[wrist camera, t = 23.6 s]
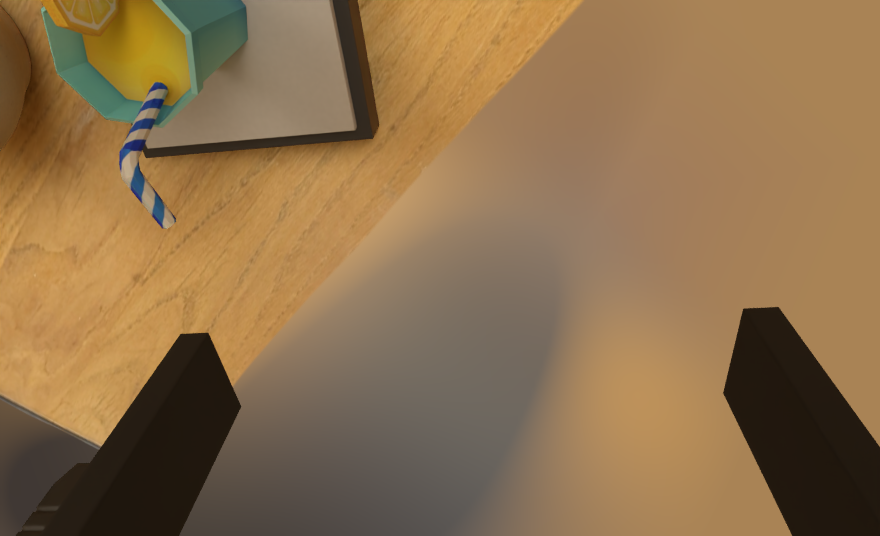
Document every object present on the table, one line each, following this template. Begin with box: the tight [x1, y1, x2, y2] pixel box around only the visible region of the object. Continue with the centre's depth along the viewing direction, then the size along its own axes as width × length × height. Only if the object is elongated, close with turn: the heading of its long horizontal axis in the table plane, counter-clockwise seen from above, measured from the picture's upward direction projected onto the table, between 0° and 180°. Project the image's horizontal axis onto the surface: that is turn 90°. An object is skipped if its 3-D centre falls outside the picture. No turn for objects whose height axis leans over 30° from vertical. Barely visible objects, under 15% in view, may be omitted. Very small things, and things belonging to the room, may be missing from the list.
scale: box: [131, 0, 379, 158], centre depth 37 cm, size 18×20×4 cm
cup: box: [40, 0, 248, 229], centre depth 30 cm, size 14×8×15 cm, turn 15°
